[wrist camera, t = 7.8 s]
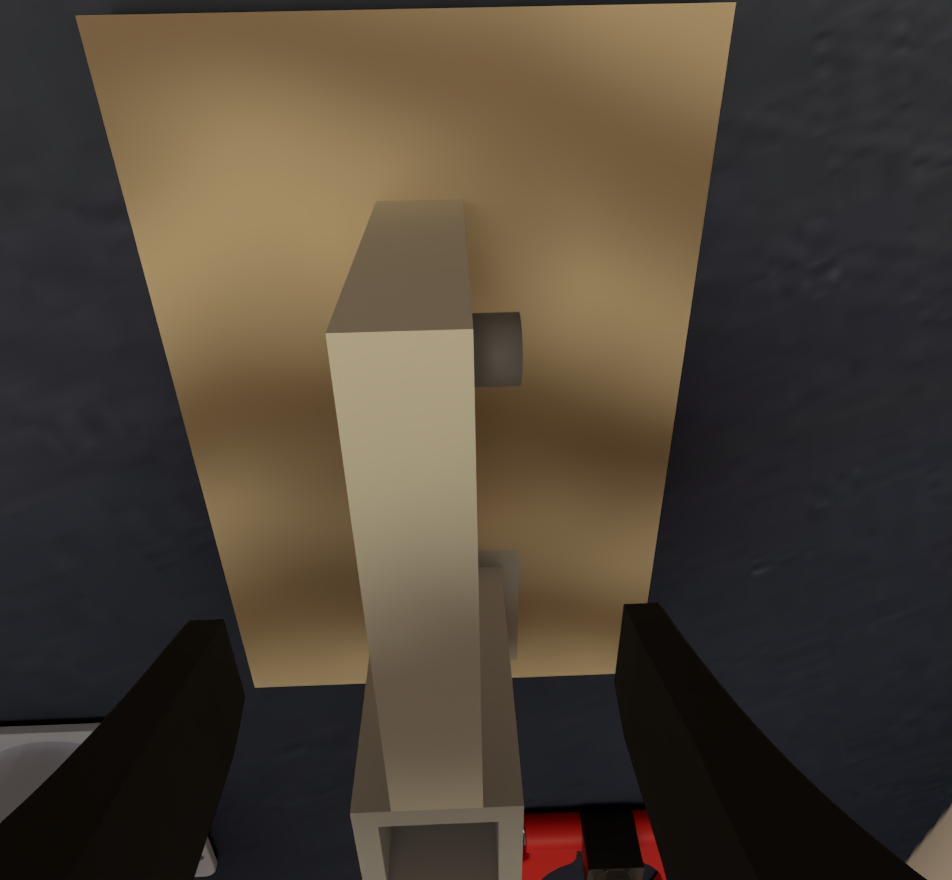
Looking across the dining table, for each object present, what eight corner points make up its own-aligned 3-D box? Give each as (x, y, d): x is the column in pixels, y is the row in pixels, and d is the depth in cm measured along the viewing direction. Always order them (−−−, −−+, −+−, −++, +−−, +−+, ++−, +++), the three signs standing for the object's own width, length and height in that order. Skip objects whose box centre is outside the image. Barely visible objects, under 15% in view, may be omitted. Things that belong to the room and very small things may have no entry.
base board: (626, 636, 24) (663, 765, 20) (265, 650, 23) (227, 783, 19) (710, 3, 14) (813, -1, 10) (109, 15, 14) (-27, 16, 10)
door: (500, 651, 22) (521, 896, 16) (389, 655, 22) (366, 902, 16) (501, 198, 15) (538, 326, 9) (336, 202, 15) (259, 335, 9)
